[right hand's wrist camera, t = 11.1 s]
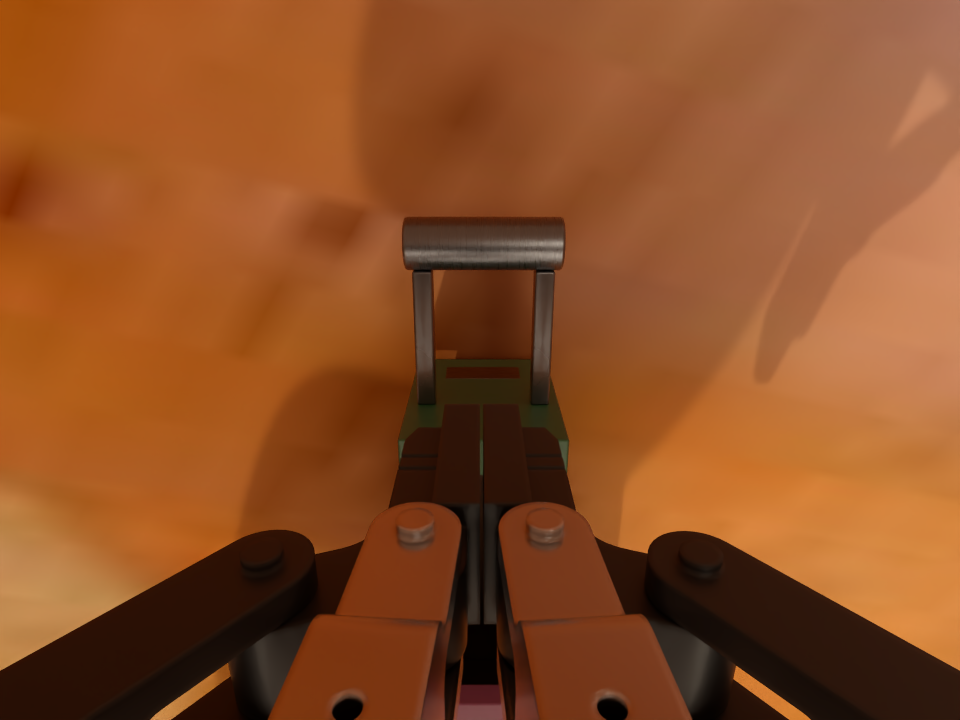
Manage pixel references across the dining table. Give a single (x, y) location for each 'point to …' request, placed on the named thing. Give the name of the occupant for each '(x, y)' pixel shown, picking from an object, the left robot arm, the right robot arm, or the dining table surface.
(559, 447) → the right robot arm
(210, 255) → the dining table surface
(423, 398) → the drawer
